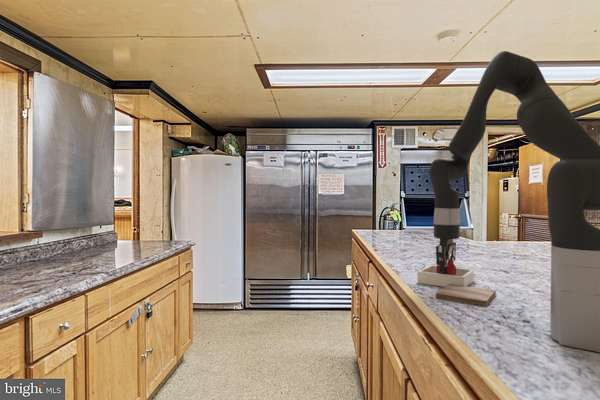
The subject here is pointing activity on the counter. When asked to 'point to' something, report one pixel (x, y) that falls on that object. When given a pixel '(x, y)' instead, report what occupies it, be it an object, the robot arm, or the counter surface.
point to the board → (466, 294)
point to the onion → (448, 268)
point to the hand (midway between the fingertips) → (446, 276)
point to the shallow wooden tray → (445, 277)
